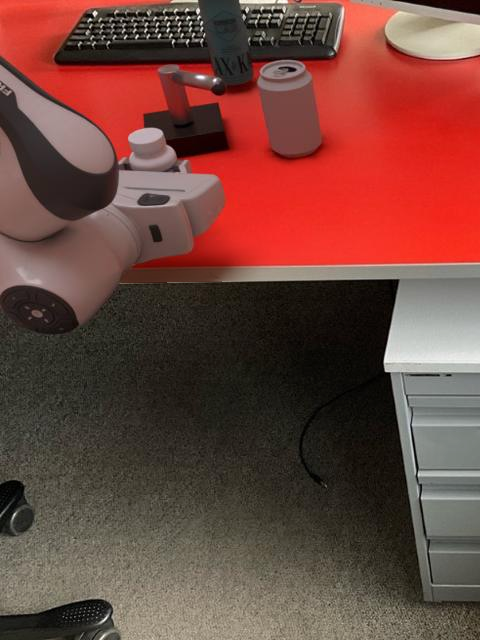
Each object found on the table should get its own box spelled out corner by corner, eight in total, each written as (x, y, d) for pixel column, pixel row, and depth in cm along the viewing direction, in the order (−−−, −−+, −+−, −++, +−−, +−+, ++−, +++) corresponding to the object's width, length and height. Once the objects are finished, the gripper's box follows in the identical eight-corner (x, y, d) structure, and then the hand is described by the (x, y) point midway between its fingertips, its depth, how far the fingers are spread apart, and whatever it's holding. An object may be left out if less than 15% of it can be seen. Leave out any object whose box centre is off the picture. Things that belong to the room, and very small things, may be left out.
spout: (228, 136, 126) (215, 83, 121) (167, 123, 130) (152, 70, 125) (241, 127, 128) (229, 74, 123) (181, 114, 132) (167, 62, 127)
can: (333, 141, 131) (320, 61, 123) (304, 164, 126) (289, 82, 118) (290, 132, 134) (275, 53, 126) (260, 154, 129) (243, 73, 121)
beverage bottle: (210, 85, 147) (178, -43, 134) (246, 74, 150) (219, -53, 137) (228, 98, 143) (198, -33, 130) (265, 86, 146) (239, -43, 133)
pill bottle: (150, 197, 113) (128, 125, 106) (193, 195, 113) (173, 123, 106) (140, 220, 109) (116, 146, 102) (185, 218, 109) (164, 144, 102)
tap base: (151, 162, 128) (145, 143, 126) (148, 132, 135) (143, 113, 133) (229, 149, 130) (224, 130, 128) (222, 120, 137) (218, 102, 135)
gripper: (29, 244, 101) (85, 183, 111) (204, 254, 99) (244, 190, 109) (8, 195, 96) (68, 136, 107) (190, 204, 94) (233, 143, 105)
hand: (159, 163), depth 108 cm, fingers closed on pill bottle, 5 cm apart
